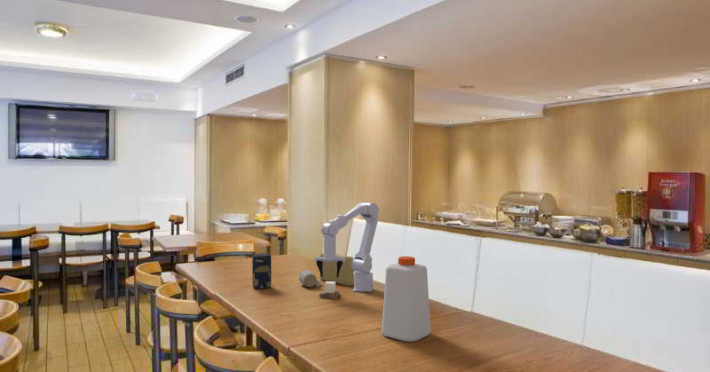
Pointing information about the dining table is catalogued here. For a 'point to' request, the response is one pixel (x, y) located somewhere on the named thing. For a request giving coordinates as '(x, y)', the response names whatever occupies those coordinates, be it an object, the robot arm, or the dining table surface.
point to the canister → (261, 270)
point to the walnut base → (329, 294)
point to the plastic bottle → (406, 301)
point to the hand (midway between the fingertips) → (329, 276)
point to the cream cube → (330, 287)
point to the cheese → (344, 275)
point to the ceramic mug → (308, 279)
